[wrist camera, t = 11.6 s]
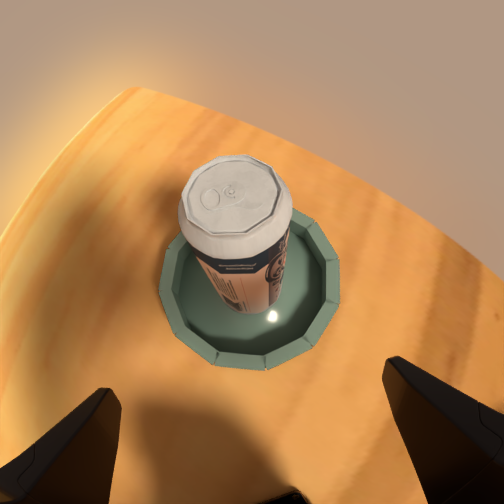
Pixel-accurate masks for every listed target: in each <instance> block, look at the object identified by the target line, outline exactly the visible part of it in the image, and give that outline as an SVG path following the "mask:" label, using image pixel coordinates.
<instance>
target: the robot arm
mask: <svg viewBox="0 0 504 504" xmlns="http://www.w3.org/2000/svg"><path fill="white" fill-rule="evenodd" d="M382 382H383V385H384V388H385V391H386V394H387V398H388V401H389V404H390V407H391V411H392V414H393V417H394V420H395V422H396V425H397V427H398V429H399V432H400V434H401V436H402V439H403V441H404V443H405V446H406V448H407V451H408V453H409V455H410V458H411V460H412V463H413V465H414V468H415V470H416V473H417V475H418V478H419V481H420V483H421V486H422V488H423V491H424V494H425V497H426V499H427V502H428V504H504V414H502V413H500V412H497V411H495V410H494V409H492V408H490V407H488V406H486V405H484V404H482V403H481V402H478V401H477V400H475V399H473V398H471V397H470V396H468V395H466V394H464V393H463V392H461V391H459V390H457V389H456V388H454V387H452V386H450V385H448V384H447V383H445V382H443V381H441V380H440V379H438V378H436V377H434V376H433V375H431V374H429V373H428V372H426V371H424V370H422V369H421V368H419V367H417V366H415V365H414V364H412V363H410V362H409V361H407V360H405V359H403V358H402V357H400V356H394V357H391V358H388V359H387V360H386V362H385V366H384V370H383V374H382ZM121 410H122V408H121V404H120V402H119V400H118V398H117V397H116V395H115V394H114V392H113V390H112V389H110V388H99V389H97V390H96V391H95V392H94V393H93V394H92V395H90V396H89V397H88V398H87V399H86V400H85V401H83V402H82V403H81V404H80V405H79V406H77V407H76V408H75V409H74V410H73V411H72V412H70V413H69V414H68V415H67V416H66V417H64V418H63V419H62V420H61V421H60V422H59V423H57V424H56V425H55V426H54V427H53V428H51V429H50V430H49V431H48V432H47V433H46V434H44V435H43V436H42V437H41V438H40V439H38V440H37V441H36V442H35V443H34V444H32V445H31V446H30V447H29V448H28V449H26V450H25V451H24V452H23V453H21V454H20V455H19V456H17V457H16V458H15V459H13V460H12V461H10V462H9V463H7V464H6V465H4V466H3V467H1V468H0V504H109V497H110V490H111V483H112V477H113V471H114V465H115V460H116V454H117V449H118V442H119V430H120V420H121ZM294 495H298V497H296V498H294V497H293V496H294ZM259 504H308V503H307V501H306V500H305V498H304V497H303V495H302V493H301V492H300V491H296V490H295V491H292V492H289V493H287V494H284V495H281V496H279V497H276V498H273V499H270V500H267V501H265V502H262V503H259Z"/></svg>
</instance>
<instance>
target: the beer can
mask: <svg viewBox="0 0 504 504" xmlns="http://www.w3.org/2000/svg"><path fill="white" fill-rule="evenodd" d="M181 195H182V197H181V199H180V202H179V205H178V222H179V225H180V228H181V231H182V233H183V235H184V237H185V239H186V240H187V242H188V244H189V246H190V247H191V249H192V251H193V252H194V254H195V256H196V257H197V259H198V261H199V263H200V264H201V266H202V268H203V269H204V271H205V273H206V274H207V276H208V277H209V279H210V281H211V282H212V284H213V286H214V287H215V289H216V291H217V292H218V294H219V295H220V297H221V299H222V300H223V302H224V303H225V304H226V305H227V306H228V307H229V308H231V309H232V310H234V311H235V312H238V313H241V314H247V315H250V314H258V313H261V312H264V311H266V310H267V309H269V308H270V307H271V306H272V305H273V304H274V303H275V302H276V301H277V299H278V298H279V295H280V293H281V290H282V281H283V274H284V267H285V260H286V252H287V245H288V237H289V229H290V222H291V217H292V206H293V204H292V198H291V195H290V192H289V189H288V187H287V186H286V184H285V183H284V181H283V180H282V179H281V177H280V176H279V175H278V174H277V173H276V172H275V171H274V169H273V167H272V166H270V165H268V164H266V163H264V162H262V161H260V160H258V159H256V158H254V157H252V156H250V155H230V156H218V157H216V158H215V159H213V160H211V161H209V162H208V163H206V164H204V165H202V166H201V167H199V168H197V169H196V170H194V171H193V173H192V175H191V177H190V179H189V180H188V182H187V184H186V186H185V188H184V190H183V192H182V194H181Z"/></svg>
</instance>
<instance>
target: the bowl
mask: <svg viewBox="0 0 504 504" xmlns="http://www.w3.org/2000/svg"><path fill="white" fill-rule="evenodd" d="M314 221H315V220H313V219H312V218H310V217H308V216H306V215H305V214H303V213H301V212H299V211H298V210H296V209H294V208H292V217H291V222H290V229H289V237H288V245H287V252H286V260H285V267H284V274H283V281H282V290H281V293H280V295H279V298H278V299H277V301H276V302H275V303H274V304H273V305H272V306H271V307H270V308H269V309H267V310H266V311H264V312H261V313H258V314H250V315H247V314H241V313H238V312H235V311H234V310H232V309H231V308H229V307H228V306H227V305H226V304H225V303H224V302H223V300H222V299H221V297H220V295H219V294H218V292H217V291H216V289H215V287H214V286H213V284H212V282H211V281H210V279H209V277H208V276H207V274H206V273H205V271H204V269H203V268H202V266H201V264H200V263H199V261H198V259H197V257H196V256H195V254H194V252H193V251H192V249H191V247H190V246H189V244H188V242H187V240H186V239H185V237H184V235H183V233H182V231H180V233H179V234H178V235H177V236H176V237H175V239H174V240H173V241H172V242H171V243H170V245H169V246H168V248H169V249H166V254H165V259H164V263H163V268H162V273H161V278H160V283H159V289H158V290H159V291H160V292H158V293H159V295H160V298H161V301H162V304H163V307H164V310H165V313H166V315H167V318H168V321H169V324H170V326H171V329H172V331H173V334H175V336H176V337H177V338H178V339H179V340H181V341H182V342H183V343H184V344H186V345H187V346H188V347H190V348H191V349H192V350H193V351H195V352H196V353H197V354H199V355H200V356H201V357H203V358H204V359H205V360H207V361H208V362H209V363H211V364H212V365H215V366H221V367H229V368H239V369H250V370H262V371H265V368H267V370H269V369H271V368H273V367H275V366H277V365H280V364H282V363H284V362H286V361H288V360H290V359H292V358H294V357H296V356H298V355H300V354H302V353H304V352H306V351H308V350H310V349H311V348H312V347H314V346H315V345H316V343H317V341H318V340H319V338H320V337H321V335H322V334H323V332H324V330H325V329H326V327H327V325H328V324H329V322H330V321H331V319H332V317H333V316H334V314H335V312H336V310H337V309H338V307H339V304H340V267H339V259H338V255H337V254H336V252H335V251H334V249H333V247H332V246H331V244H330V242H329V241H328V239H327V238H326V236H325V234H324V233H323V231H322V230H321V228H320V227H319V225H318V223H317V222H315V223H314Z"/></svg>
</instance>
